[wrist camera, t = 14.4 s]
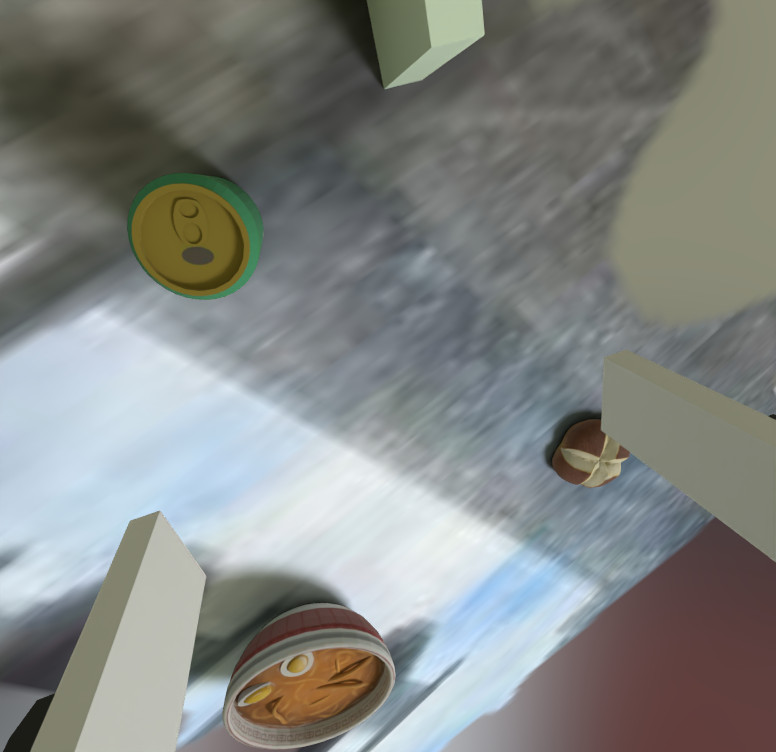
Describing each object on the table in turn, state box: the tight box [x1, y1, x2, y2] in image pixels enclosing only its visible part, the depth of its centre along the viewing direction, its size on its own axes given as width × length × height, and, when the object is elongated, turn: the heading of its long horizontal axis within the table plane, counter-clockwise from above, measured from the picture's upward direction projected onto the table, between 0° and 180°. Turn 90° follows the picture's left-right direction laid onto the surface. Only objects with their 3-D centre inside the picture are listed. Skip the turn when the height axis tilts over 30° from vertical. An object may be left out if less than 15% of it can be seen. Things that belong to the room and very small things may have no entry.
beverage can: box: [127, 173, 263, 300], centre depth 30 cm, size 8×8×12 cm
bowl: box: [222, 603, 395, 749], centre depth 58 cm, size 23×23×10 cm
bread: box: [552, 419, 630, 488], centre depth 58 cm, size 11×11×5 cm
